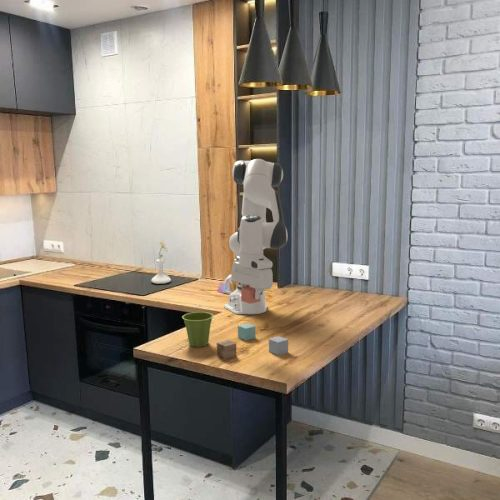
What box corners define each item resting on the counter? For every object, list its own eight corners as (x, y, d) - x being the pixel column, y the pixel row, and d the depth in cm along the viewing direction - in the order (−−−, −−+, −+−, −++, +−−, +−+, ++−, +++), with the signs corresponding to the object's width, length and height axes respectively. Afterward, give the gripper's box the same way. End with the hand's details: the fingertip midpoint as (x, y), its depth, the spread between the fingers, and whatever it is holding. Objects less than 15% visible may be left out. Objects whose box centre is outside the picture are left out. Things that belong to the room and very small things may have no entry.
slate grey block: (268, 351, 188) (268, 338, 187) (279, 348, 191) (279, 336, 190) (277, 355, 184) (277, 342, 183) (288, 352, 187) (288, 339, 186)
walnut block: (217, 355, 184) (216, 342, 183) (228, 352, 187) (227, 339, 186) (225, 359, 180) (225, 346, 180) (236, 356, 183) (236, 343, 183)
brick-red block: (241, 300, 189) (241, 287, 188) (251, 298, 192) (251, 285, 191) (249, 303, 185) (249, 290, 184) (260, 301, 188) (260, 288, 187)
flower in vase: (169, 285, 296) (168, 242, 292) (149, 285, 296) (148, 242, 292) (172, 280, 309) (171, 239, 305) (153, 280, 309) (152, 239, 305)
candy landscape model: (266, 291, 280) (266, 275, 279) (229, 297, 268) (229, 280, 266) (243, 283, 301) (242, 267, 299) (207, 288, 289) (207, 272, 287)
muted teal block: (237, 337, 204) (237, 325, 203) (247, 335, 207) (247, 323, 206) (245, 340, 200) (245, 328, 199) (255, 338, 203) (255, 326, 202)
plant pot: (198, 337, 204) (198, 309, 203) (220, 343, 197) (219, 315, 195) (176, 344, 196) (175, 316, 194) (198, 351, 188) (197, 322, 186)
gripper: (227, 256, 192) (227, 292, 194) (262, 265, 176) (261, 304, 179) (240, 255, 196) (240, 290, 198) (275, 263, 180) (275, 301, 182)
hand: (250, 296), depth 188 cm, fingers closed on brick-red block, 5 cm apart
